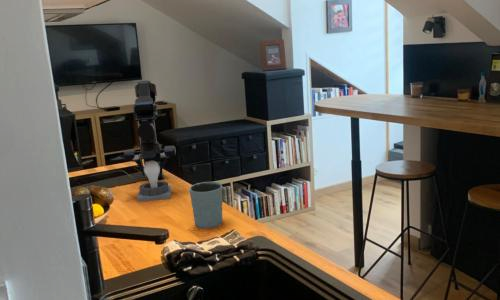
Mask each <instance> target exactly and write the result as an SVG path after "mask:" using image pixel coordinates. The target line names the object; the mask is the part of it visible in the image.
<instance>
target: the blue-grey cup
mask: <svg viewBox="0 0 500 300" xmlns="http://www.w3.org/2000/svg"><path fill="white" fill-rule="evenodd" d="M189 196H190V201H191V207H192V214H193V219H194V225H195V227H196V226H197V228H198V227H199V229H214V228H217V227H219V226H221V224H223V185H222V184H221V183H219V182H216V181H203V182H197V183H195V184H192V185H191V186H189Z"/></svg>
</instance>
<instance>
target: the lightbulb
mask: <svg viewBox="0 0 500 300" xmlns="http://www.w3.org/2000/svg"><path fill="white" fill-rule="evenodd" d="M143 167H144V172H145V176H146V177H147V178H148V179H149V181H148V182H149V183H150V186H151V188H157V182H158V181H159V180H158V175H159V172H160V165H159V164H158V163H157V162H156V161H148V162H146V164H145V165H144V164H143ZM148 179H147V180H148Z"/></svg>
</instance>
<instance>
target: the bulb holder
mask: <svg viewBox="0 0 500 300" xmlns="http://www.w3.org/2000/svg"><path fill="white" fill-rule="evenodd" d="M138 189H139V191H138V194H137V195H136V196H137V198H136V201H137V203H141V202H147V201H148V202H150V201H157V200H169V199H171V196H172V190H173V189H172V185H171V184H170V185H169V182H168V181H165V180H158V182H157V188H151V186H150V183H149V181H148V182H145V183H142V184H140V185H139V188H138Z"/></svg>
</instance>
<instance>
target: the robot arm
mask: <svg viewBox="0 0 500 300" xmlns="http://www.w3.org/2000/svg"><path fill="white" fill-rule="evenodd" d="M134 93H135V97H136V99H135V101H134V104H133V105H132V106H133V118H134V122H138V123H137V124H138V127H137V129H136V131H137V136H138V137H139V138H140V139H139V140H140V145H139V146H140V148H139V149H140V151H139V150H137V151H136V149H134V148H133V149H126V150H125V151H124V152H123V161H131V163H132V162H133V163H136V165H137V166H138V167H139V169H140V171H141V174H142V176H143V177H145V176H146V174H145V172H144V165H145V164H146V163H147V162H148V161H156V162H157V163H158V164H159V165H160V172H159V175H158V181H164V179H165V174H164V173H163V168H164V165H166V164H167V159H169V157H173V156H176V152H177V151H176V146H175V145H165V146H163V147H164V148H162V146H161V144H160V142H158V141H157V133H156V123H155V120H157V117H158V106H157V105H156V103H155V102H156V100H157V96H158V91H157V86H156V84H155V83H152V82H151V81H150V80H140V81H138V82H137V84H136V85H135V86H134ZM147 180H148V182H149V179H147Z"/></svg>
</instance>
